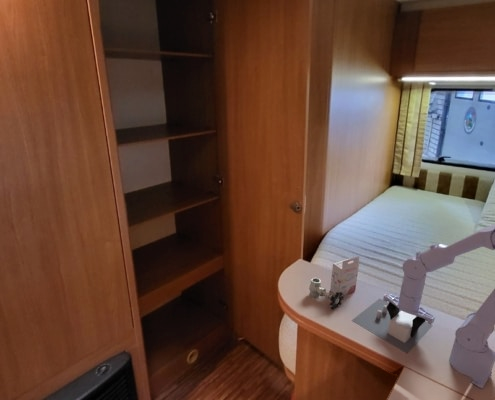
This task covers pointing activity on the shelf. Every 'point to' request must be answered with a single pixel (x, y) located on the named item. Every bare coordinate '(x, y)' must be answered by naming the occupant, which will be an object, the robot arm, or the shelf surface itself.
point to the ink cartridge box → (344, 276)
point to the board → (387, 325)
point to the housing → (401, 326)
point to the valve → (324, 293)
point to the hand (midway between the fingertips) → (403, 330)
